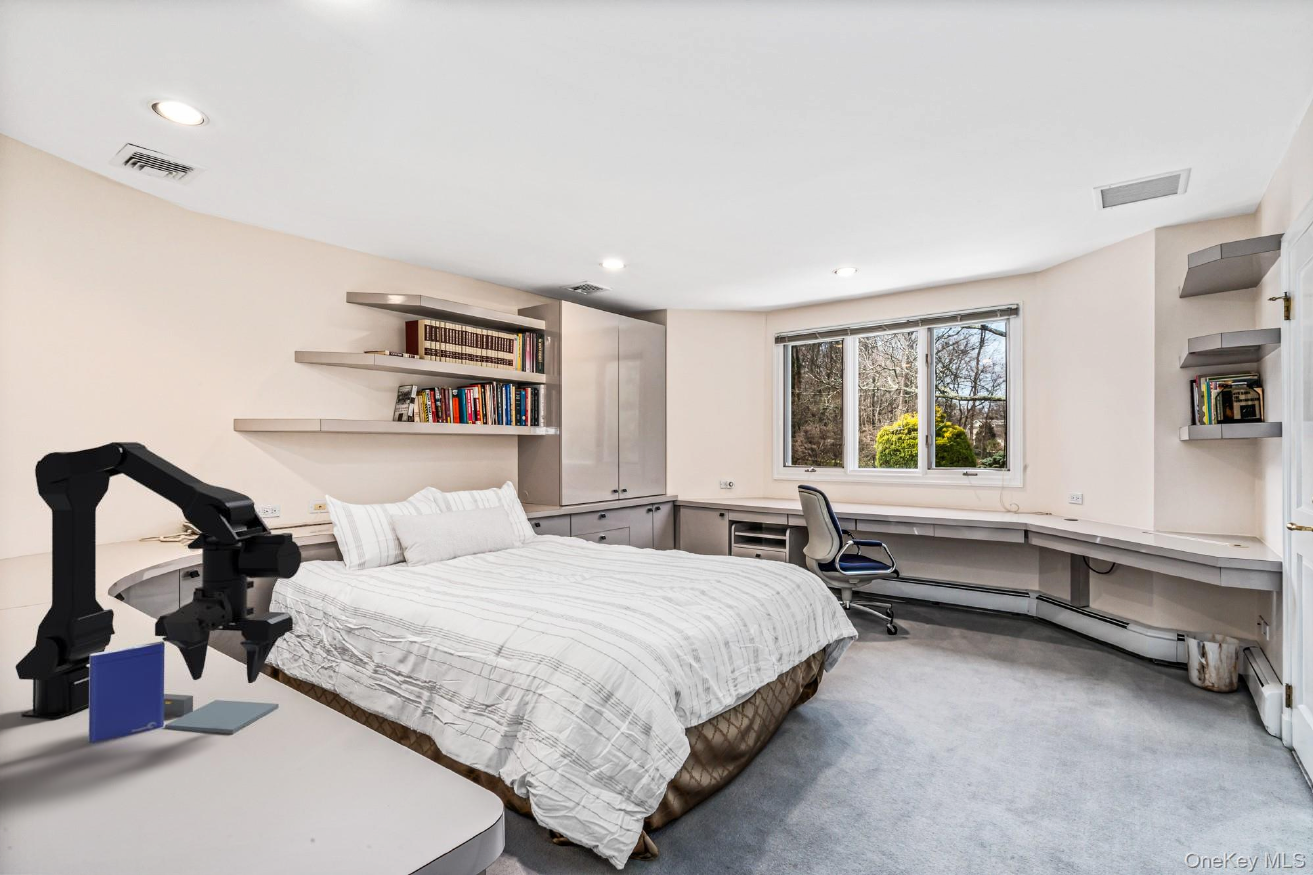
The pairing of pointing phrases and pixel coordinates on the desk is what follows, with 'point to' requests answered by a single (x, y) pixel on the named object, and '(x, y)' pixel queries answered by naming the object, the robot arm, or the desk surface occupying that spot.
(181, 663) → the desk surface
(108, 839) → the desk surface
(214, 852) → the desk surface
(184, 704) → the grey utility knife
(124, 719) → the hard drive
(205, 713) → the mat
